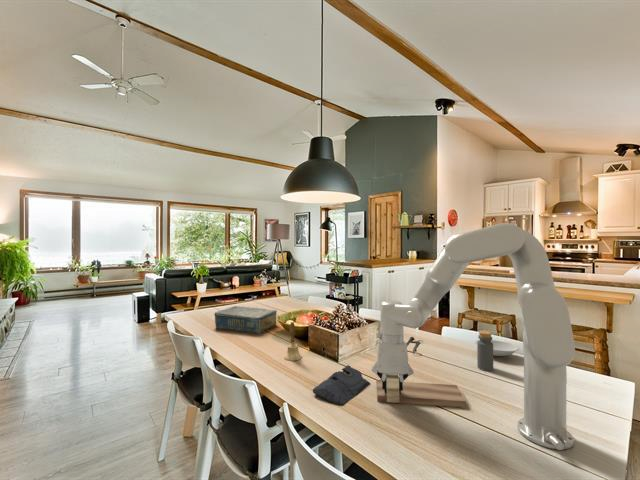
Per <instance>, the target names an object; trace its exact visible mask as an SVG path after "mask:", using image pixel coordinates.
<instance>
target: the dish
mask: <svg viewBox="0 0 640 480" xmlns="http://www.w3.org/2000/svg"><path fill="white" fill-rule="evenodd" d="M479 340H480V339H477V340H475V341H474V343H475V345H477V342H478V341H479ZM491 342H492V343H493V357H494V356H495V357H506V356H510V355H513V354H515V353H516V352H518V351H519V350H520V347H519V346H517V345H516V344H513V343H510V342H507V341H502V340H498V339H497V340H496V339H492V340H491Z"/></svg>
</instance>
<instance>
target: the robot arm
mask: <svg viewBox="0 0 640 480" xmlns="http://www.w3.org/2000/svg"><path fill="white" fill-rule="evenodd" d="M503 256H508V257H509V259H510V261H511V262H512V268H513V271H514V276H515V281H516V282H515V283H516V287H517V301H518V304H519V307H520V308H521V309H520V310H521V312H522V318H523V323H524V328H523V330H522V331H523V333H522V347H523V418H521V419H520V418H519V420H518V421H517V430H518V431H519V433H520V434H521V435H523V437H524V438H526V439H527V440H529V441H530V442H533V443H535V444H536V445H540V446H542V447H545V448H547V449H554V450H558V451H561V450H562V451H563V450H569V449H571V448H572V447H573V446H574V445H575V439H574V436H573V435H572V433H571V432H570V431H568V430H567V383H568V379H567V377H568V375H567V374H568V373H567V366H568V365H570V363H571V362H572V361H573V360H574V358H575V353H576V346H575V339H574V335H573V334H574V333H573V328H572V322H571V317H570V313H569V308H568V305H567V302H566V299H565V297H564V296H563V295H562V293H560V291H559V290H558V289H556V287H555V283H554V282H555V281H554V278H553V273H552V268H551V265H550V261H549V257H548V253H547V251H546V250H545V248H544V246H543V244H542V243H541V242H540V241H539V239H538V238H537V237H536V236H535V235H533V234H532V233H531V232H529V231H528V230H525V229H523V228H521V227H519V226H518V225H516V224H514V223H512V222H511V223H510V222H502V223H497V224H493V225H489V226H486V227H482V228H478V229H474V230H470V231H466V232H465V231H464V232H460V233H456V234H453V235H451V236H450V237H449V238H448V239H447V240H446V242H445V244H444V247H443V249H442V250H441V251H440V253H439V255H438V256H437V258H436V259H435V261H433V263H432V265H430V268H429V269H428V270H427V272H426V274H425V279H424V280H423V283H422V284H421V285H420V288H419V289H418V290H417V292H416V293H415V295H414V296H413V298H412V299H411V300H410V302H409V303H407V304H406V303H405V304H403V302H401V301H399V300H395V299H393V300H392V299H387V300H383V301H381V304H380V332H379V333H376V339H379V340H378V344H377V349H376V350H377V352H376V361H375V363H374V364H373V366H372V367H371V372H372V373H373V374H375V375H376V376H377V377H378V378H379V379H380V380H381V379H382V389H384V391H385V393H387V382H386V374H398V377H399V394H401V391H403V382H405V380H406V379H407V378H409V376H411V375H413V374H414V373H415V371H414V370H413V368H412V366H411V365H410V363H409V355H408V354H409V352H407V351H408V347H407V346H408V345H407V346H406V343H407V342H406V341H404V327H407V328H409V329H410V328H411V329H419V328H421V327H422V326H423V325H424V324H425V323H426V321H427V319H428V318H429V317H430V315H431V314H432V312H433V311H434V309H435V308H436V307H437V305H438V304H439V303H440V301H441V300H442V299H443V297H444V296H445V294H446V295H447V293H448V292H450V291H451V290H452V288H453V286H454V285H455V284H456V283H457V281H458V279H460V277H461V275H462V274H464V273H463V272H465V270H466V269H467V267H468V266H469V265H470V263H474V262H480V261H485V260H489V259H493V258H494V259H495V258H498V257H503Z"/></svg>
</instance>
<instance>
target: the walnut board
mask: <svg viewBox="0 0 640 480" xmlns="http://www.w3.org/2000/svg"><path fill="white" fill-rule="evenodd" d="M380 380H381V379H378V380H377V379H376V380H375V381H376V382H375V383H376V399H377V402H383V403H384V402H385V403H388V402H387V394H386V393H385V391H384V389H382V381H380ZM398 404H413V405H426V406H436V407H437V406H439V407H441V406H442V407H456V408H467V400H466V399H465V397H464V395H463V394H462V392H461V390H460V389H459V386H458V385H457V384H445V383H443V384H442V383H428V382H427V383H425V382H413V381H412V382H411V381H410V382H409V381H404V382H403V391H401V394H399V403H398Z"/></svg>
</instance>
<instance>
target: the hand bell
mask: <svg viewBox="0 0 640 480" xmlns="http://www.w3.org/2000/svg"><path fill="white" fill-rule="evenodd" d="M289 334H290V343H289V345H288V346H287V351H286V353H285V354H284V356H283V359H284V360H286V361H290V362H294V361H298V360H301V359H302V358H303V355H302V353H301V352H300V351H299V346H298V344H297V343H295V334H296V326H295V322H293V321H291V322H290V325H289Z"/></svg>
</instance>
